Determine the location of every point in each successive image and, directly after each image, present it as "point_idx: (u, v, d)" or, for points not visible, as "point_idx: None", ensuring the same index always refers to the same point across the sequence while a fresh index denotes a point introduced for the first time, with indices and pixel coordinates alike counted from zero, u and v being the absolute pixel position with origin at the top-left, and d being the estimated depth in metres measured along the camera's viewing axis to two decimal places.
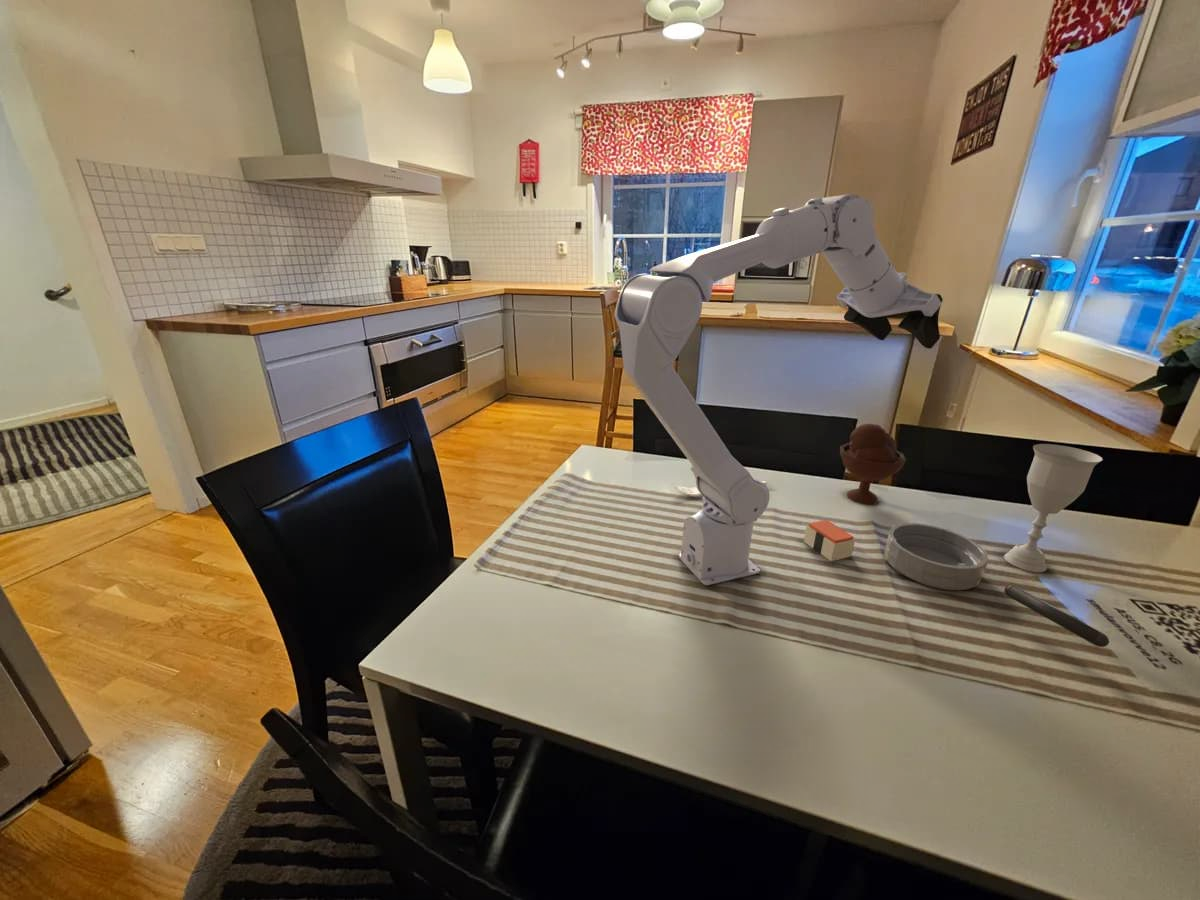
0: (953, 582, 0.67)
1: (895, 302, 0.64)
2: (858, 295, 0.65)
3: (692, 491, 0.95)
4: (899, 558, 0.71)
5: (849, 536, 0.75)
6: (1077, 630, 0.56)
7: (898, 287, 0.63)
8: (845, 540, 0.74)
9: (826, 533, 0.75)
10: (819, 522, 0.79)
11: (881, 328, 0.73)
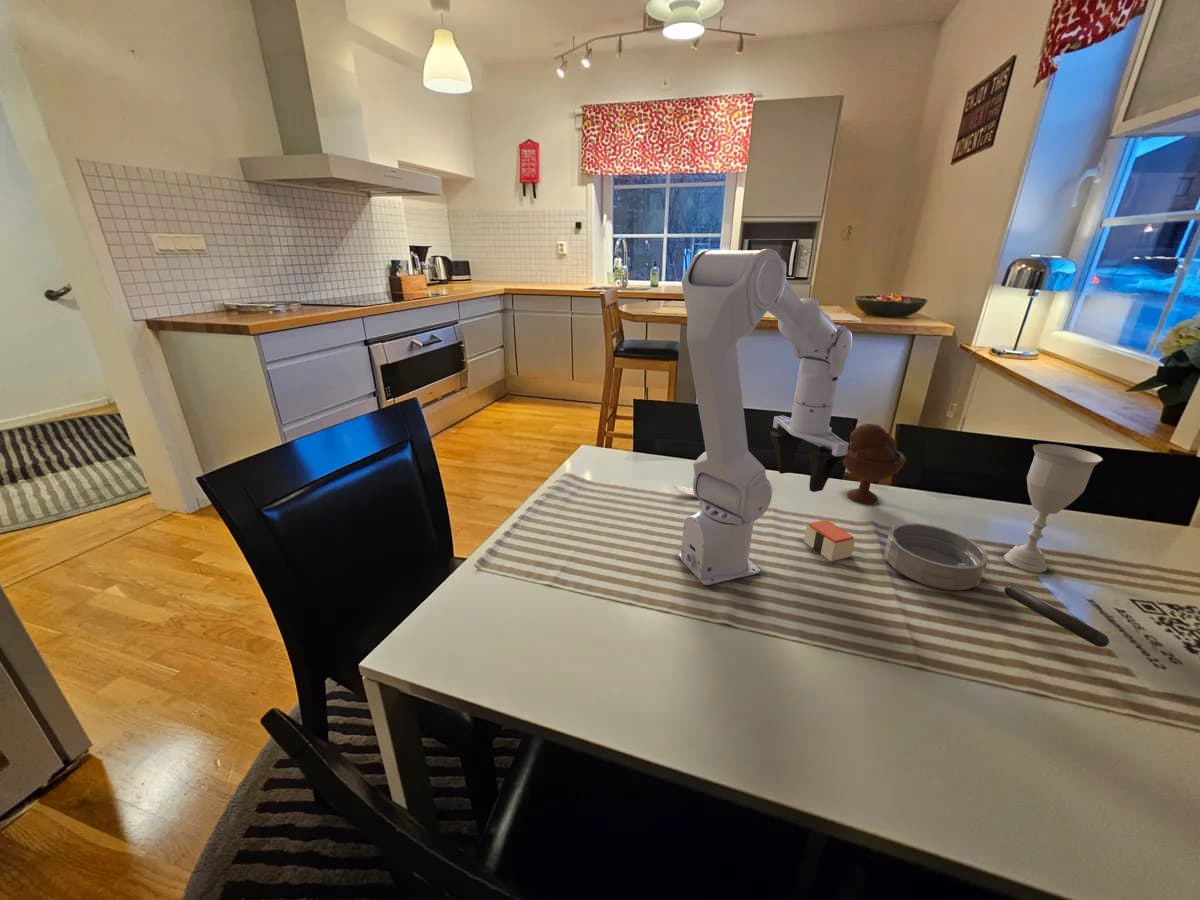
0: (953, 582, 0.67)
1: (817, 435, 0.76)
2: (799, 410, 0.76)
3: (692, 491, 0.95)
4: (899, 558, 0.71)
5: (849, 536, 0.75)
6: (1077, 630, 0.56)
7: (826, 427, 0.76)
8: (845, 540, 0.74)
9: (826, 533, 0.75)
10: (819, 522, 0.79)
11: (786, 463, 0.84)
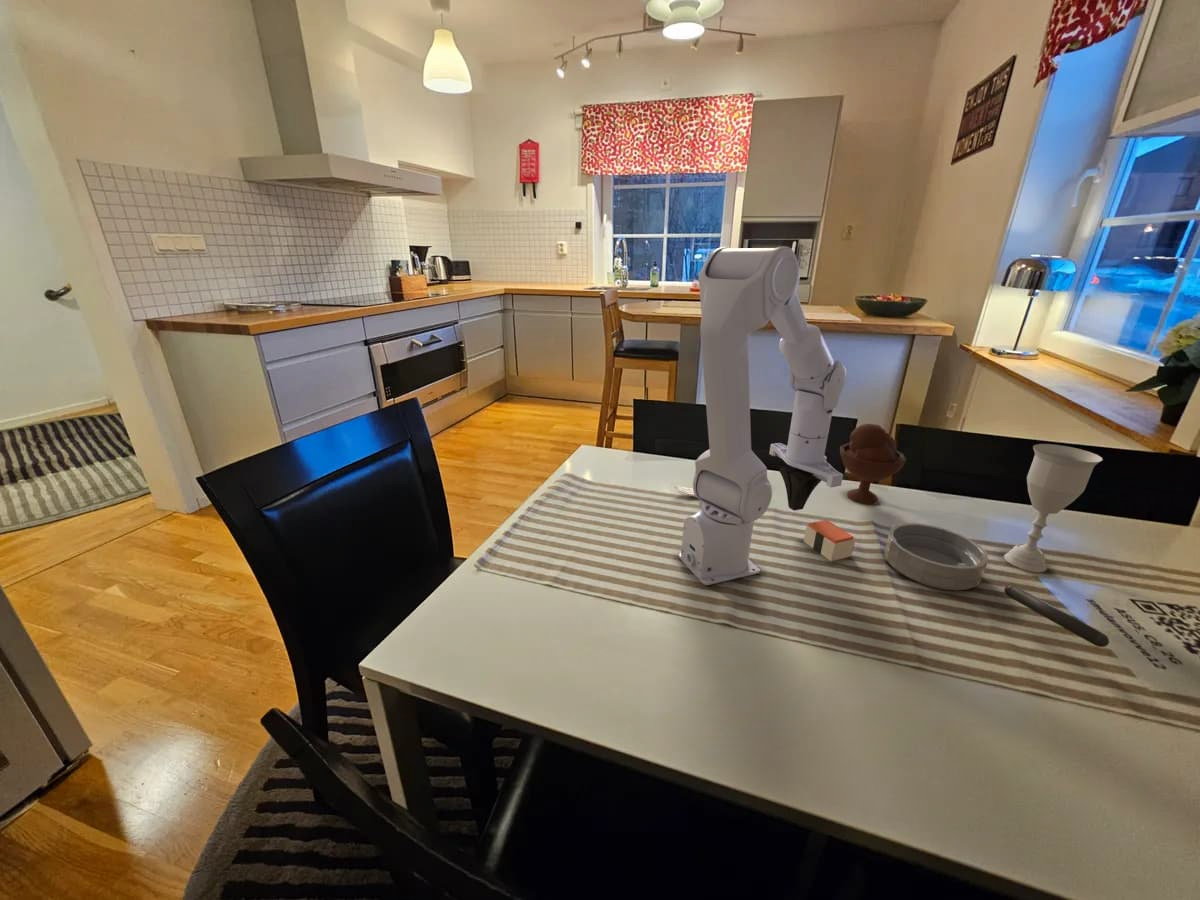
0: (953, 582, 0.67)
1: (812, 465, 0.77)
2: (795, 440, 0.77)
3: (692, 491, 0.95)
4: (899, 558, 0.71)
5: (849, 536, 0.75)
6: (1077, 630, 0.56)
7: (821, 457, 0.77)
8: (845, 540, 0.74)
9: (826, 533, 0.75)
10: (819, 522, 0.79)
11: None
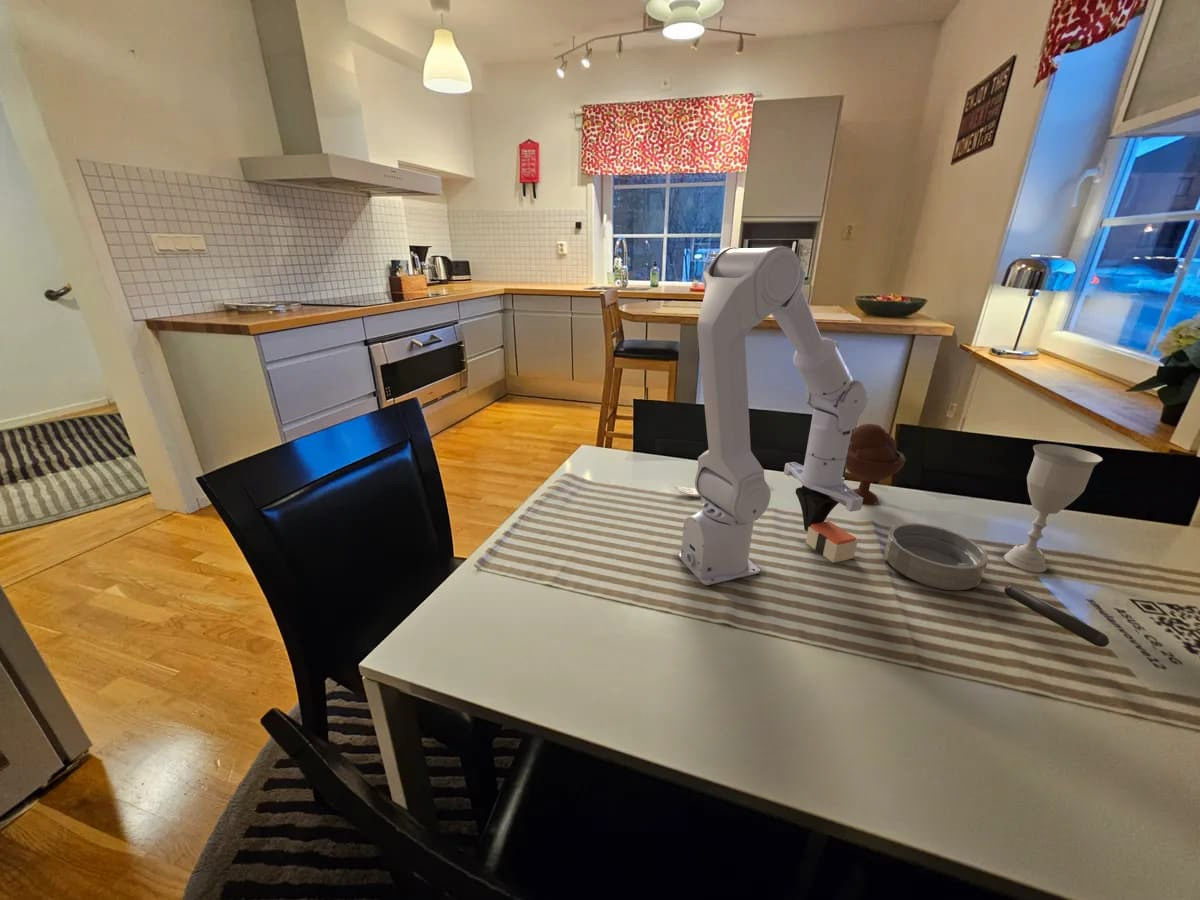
0: (953, 582, 0.67)
1: (830, 487, 0.74)
2: (812, 462, 0.74)
3: (692, 491, 0.95)
4: (899, 558, 0.71)
5: (851, 537, 0.74)
6: (1077, 630, 0.56)
7: (839, 479, 0.74)
8: (847, 541, 0.74)
9: (828, 534, 0.75)
10: (821, 523, 0.78)
11: None
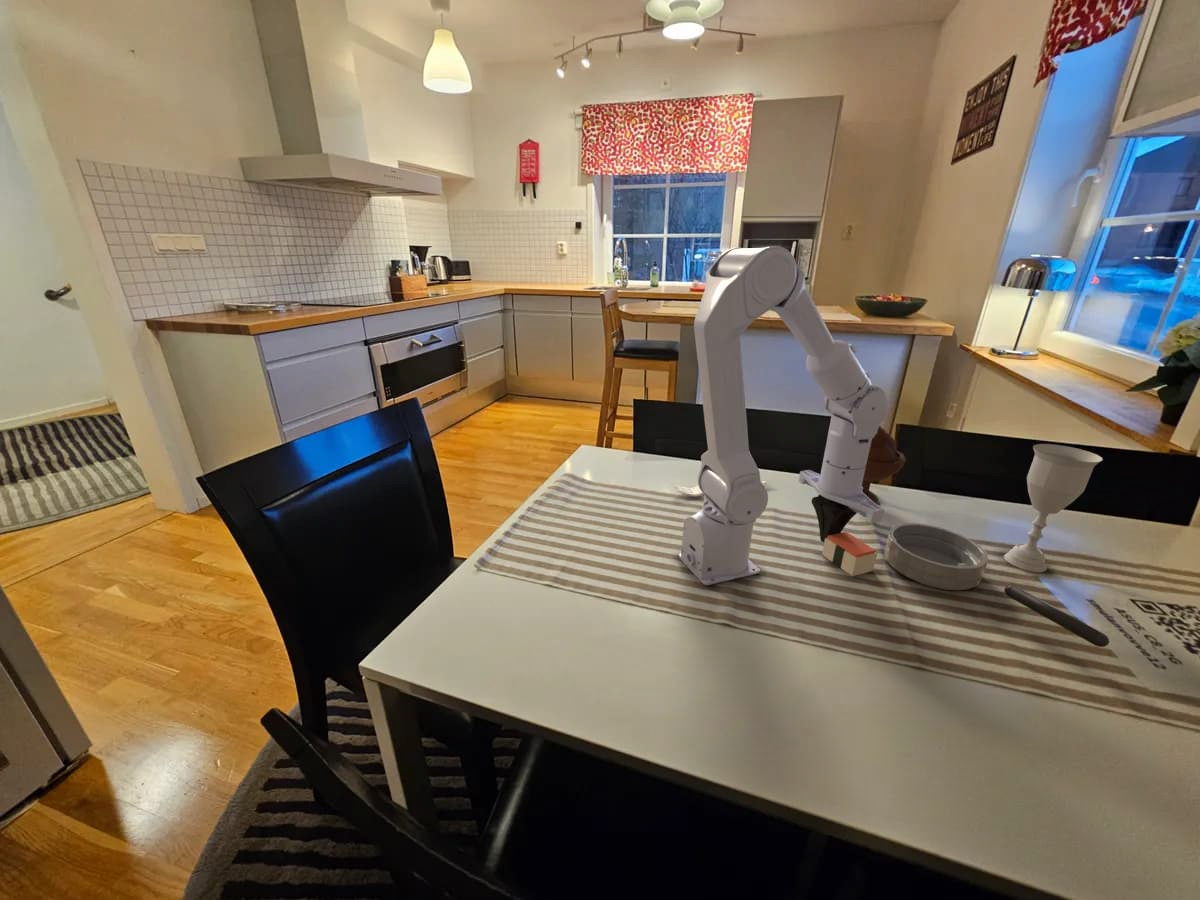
0: (953, 582, 0.67)
1: (849, 497, 0.71)
2: (830, 470, 0.71)
3: (692, 491, 0.95)
4: (899, 558, 0.71)
5: (871, 550, 0.71)
6: (1077, 630, 0.56)
7: (858, 489, 0.71)
8: (867, 554, 0.71)
9: (847, 546, 0.72)
10: (838, 534, 0.75)
11: None
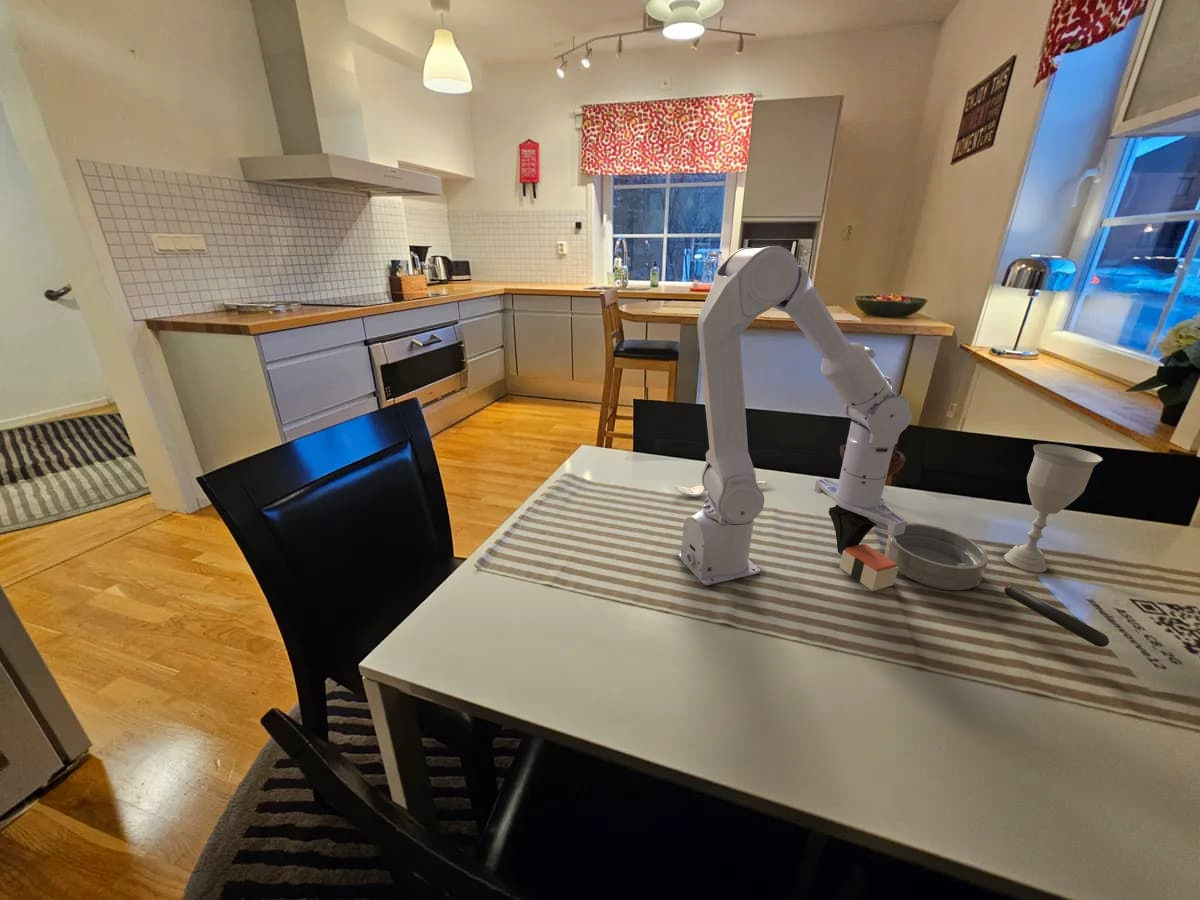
0: (953, 582, 0.67)
1: (869, 508, 0.68)
2: (849, 480, 0.68)
3: (692, 491, 0.95)
4: (899, 558, 0.71)
5: (892, 563, 0.68)
6: (1077, 630, 0.56)
7: (878, 499, 0.68)
8: (888, 568, 0.68)
9: (866, 560, 0.69)
10: (857, 546, 0.72)
11: None
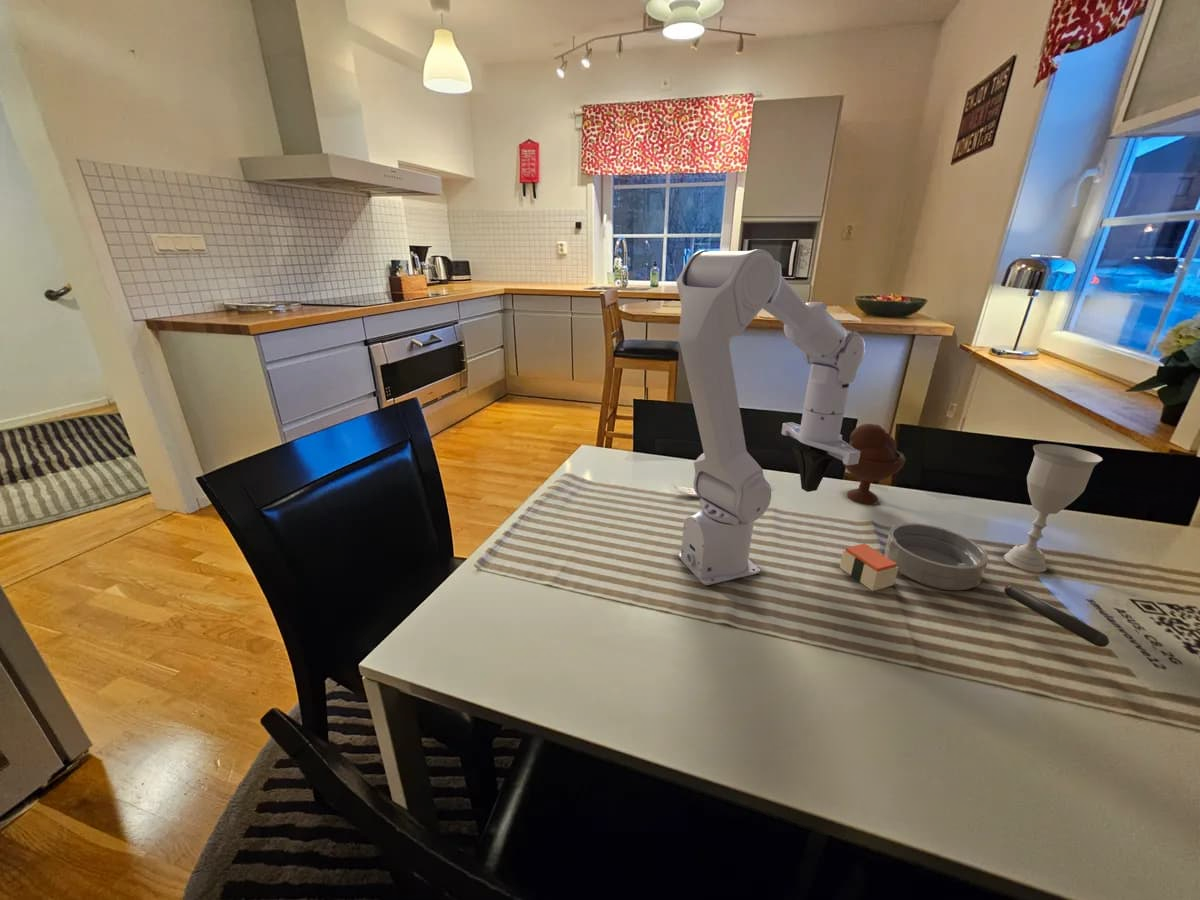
0: (953, 582, 0.67)
1: (828, 442, 0.74)
2: (810, 417, 0.74)
3: (692, 491, 0.95)
4: (899, 558, 0.71)
5: (892, 563, 0.68)
6: (1077, 630, 0.56)
7: (836, 435, 0.74)
8: (888, 568, 0.68)
9: (866, 560, 0.69)
10: (857, 546, 0.72)
11: None
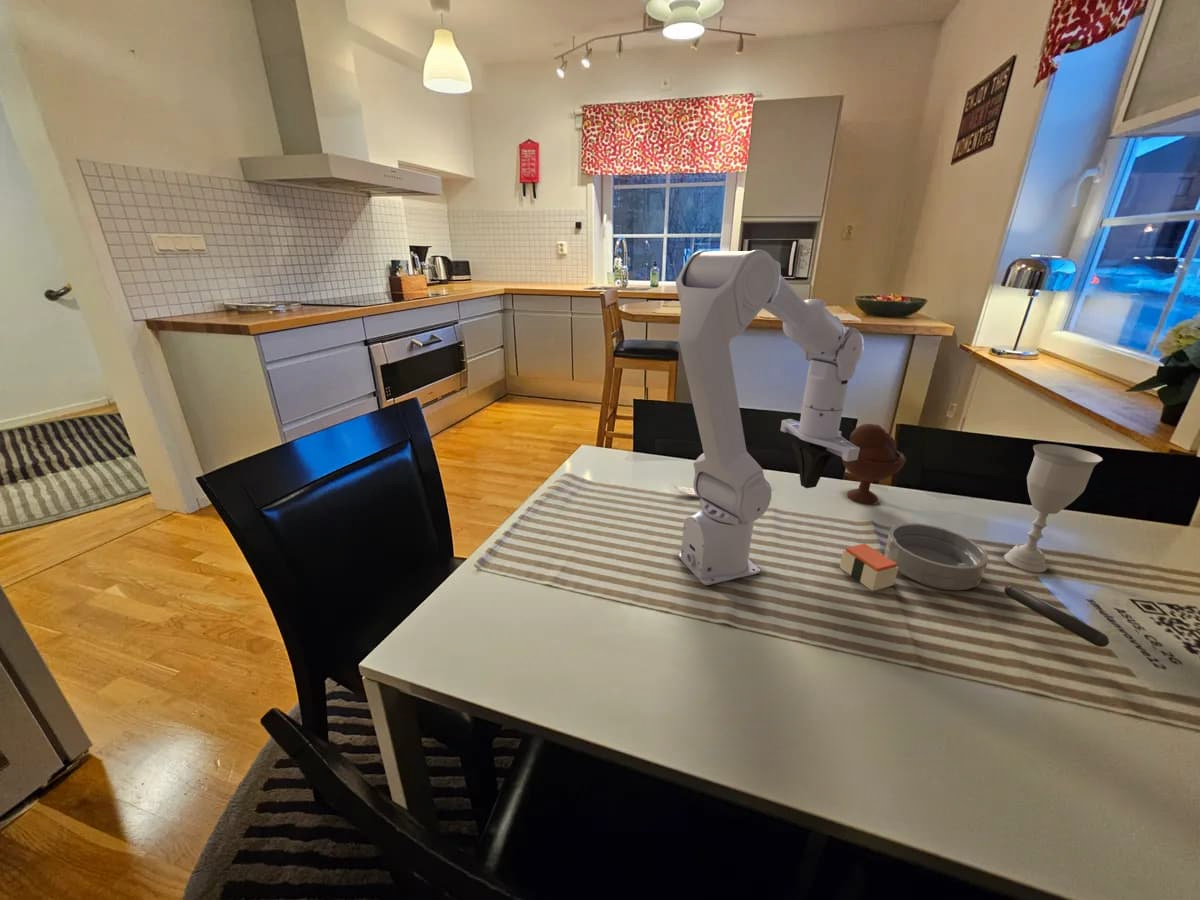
0: (953, 582, 0.67)
1: (827, 439, 0.74)
2: (809, 413, 0.74)
3: (692, 491, 0.95)
4: (899, 558, 0.71)
5: (892, 563, 0.68)
6: (1077, 630, 0.56)
7: (835, 431, 0.74)
8: (888, 568, 0.68)
9: (866, 560, 0.69)
10: (857, 546, 0.72)
11: None
